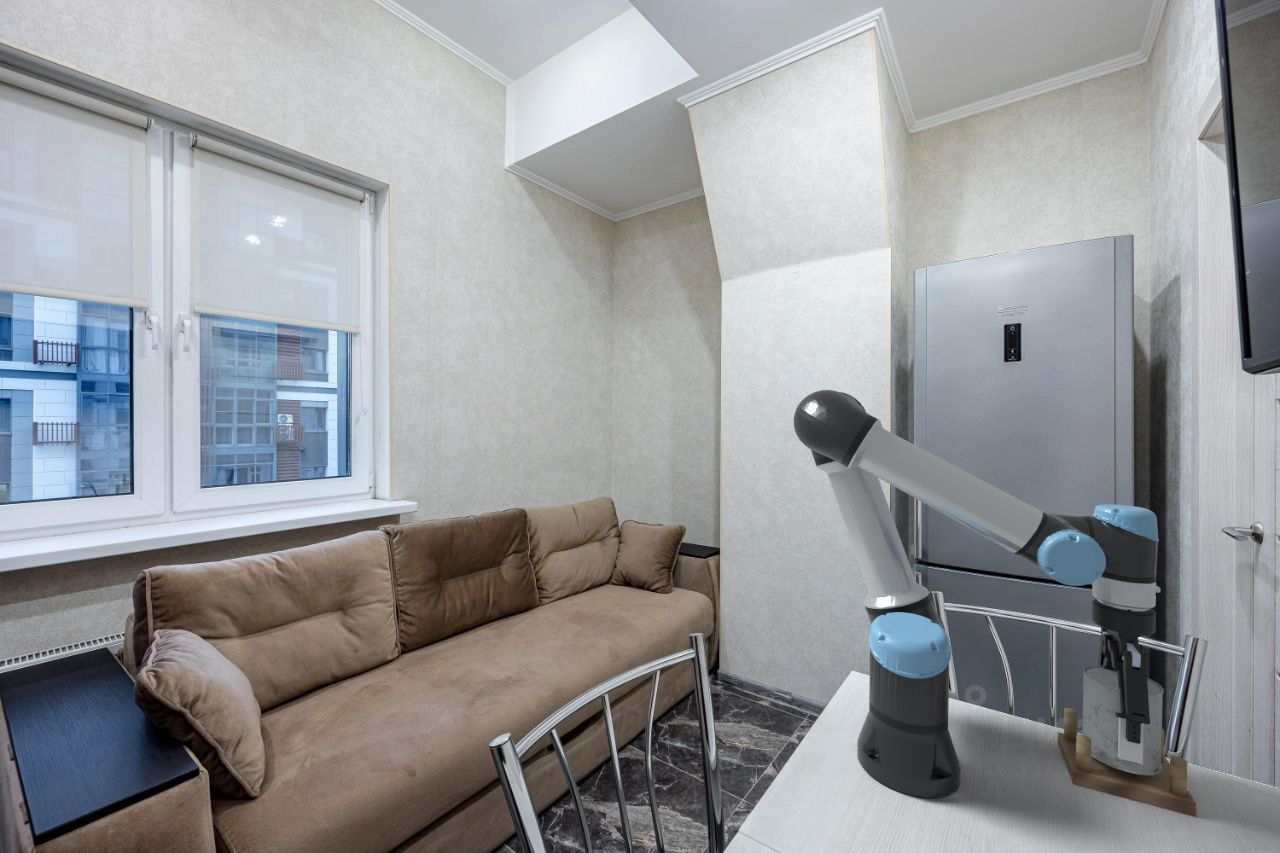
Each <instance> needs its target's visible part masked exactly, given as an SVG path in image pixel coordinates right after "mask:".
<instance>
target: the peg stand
mask: <svg viewBox="0 0 1280 853" xmlns="http://www.w3.org/2000/svg"><path fill="white" fill-rule="evenodd" d="M1063 714H1064V715H1063V719H1064V720H1063V732H1060V731H1059V732H1057V746H1058V748H1059V751H1060V754H1061V756H1062V758H1063V761H1064V762H1063V763H1064V764H1065V767H1066V769H1067V771H1068V774H1069V777H1070V780H1071V783H1072V784H1073V785H1075V786H1078V787H1082V788H1085V789H1089V790H1094V791H1098V792H1100V793H1105V794H1108V795H1112V796H1117V797H1120V798H1124V799H1128V800H1131V801H1135V802H1138V803H1143V804H1146V805H1150V806H1154V807H1157V808H1161V809H1165V810H1168V811H1172V812H1176V813H1180V814H1183V815H1187V816H1191V817H1195V818H1197V802H1196V801H1195V799H1194V797H1193V795H1191V793H1190V791H1189V790H1188V761H1187V760H1186V759H1184V758H1182V757H1180V756H1176V755H1171V756H1169V761H1168V759H1167V758H1166V757H1165V733H1166V732H1165V729H1163V728H1162V739H1161V766H1162V771H1161V772H1160V773H1159V774H1156V775H1139V774H1133V773H1129V772H1125V771H1122V770H1119V769H1116V768H1113V767H1111V766H1109V765H1106V764H1104V763H1102V762H1100V761H1099V760H1097V759H1095V758H1094V757H1092V756H1091V739H1090V738H1089V737H1087V736H1085V735H1082V734H1079V733H1078V724H1079V723H1078V722H1079V719H1078V718H1079V717H1078V716H1079V712H1078V711H1077V709H1074V708H1070V707H1064V712H1063Z"/></svg>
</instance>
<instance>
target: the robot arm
mask: <svg viewBox="0 0 1280 853" xmlns="http://www.w3.org/2000/svg"><path fill="white" fill-rule="evenodd" d="M793 428H794V432H795V434H796V436H797V438H798V439H799V441H800V442H801V443H802V444H803V445H804V446H805V447H807V449H810V451H811V455H812V457H813V460H814V462H815V466H816V468H817V469H819V470H821V471H824V472H825V473H826V474H827V476H828V479H829V482H830V485H831V487H832V490H833V493H834V494H833V495H834V496H835V499H836V502H837V505H838V508H839V511H840V513H841V517H842V520H843V521H844V525H845V528H846V531H847V533H848V534H847V535H848V536H849V540H850V542H851V546H852V548H853V551H854V554H855V556H856V559H857V562H858V565H859V568H860V571H861V573H862V576H863V579H864V582H865V585H866V589H867V590H868V593H867V595H866V597H865V599H864V600H863V604H864V607H865V610H866V611H865V612H866V613H867V616H868V618H869V622H870V625H871V626H870V631H869V634H868V645H869V684H868V685H869V692H868V693H869V697H868V698H869V700H868V702H869V703H868V705H869V706H868V711H867V715H866V717H865V720H864V723H863V725H862V728H861V730H860V732H859V735H858V738H857V744H856V745H857V748H856V751H857V752H856V754H857V755H856V756H857V760H858V762H859V764H860V766H861V767H862V769H864V771H865V772H866V773H867V774H868V775H870V776H871V777H872V778H873V779H875V780H876V781H878V782H879V783H881V784H883V785H884V786H887V787H888V788H890V789H892V790H894V791H898V792H900V793H903V794H906V795H910V796H914V797H920V798H928V799H930V798H931V799H933V798H943V797H948V796H951V795H952V794H954V793H956V792H957V790H959V788H960V785H961V764H960V760H959V757H958V754H957V752H956V748H955V746H954V745H955V744H954V742H953V739H952V736H951V734H950V730H949V705H950V704H949V700H950V699H949V698H950V695H949V694H950V692H949V691H950V689H949V688H950V685H949V684H950V661H951V657H952V650H951V645H950V640H949V636H948V634H947V632H946V627H945V624H944V622H943V621H944V620H943V619H942V618H941V616H940V615H939V612H937V611H936V608H935V605H934V603H933V599H932V597H931V594H930V591H929V590H928V588H927V587H925V586H924V585H921V584H919V583H918V582H917V580H916V579H915V576H914V573H913V570H912V568H911V567H912V566H911V565H910V562H909V560H908V556H907V554H906V551H905V548H904V545H903V543H902V542H903V541H902V540H901V537H900V534H899V531H898V529H897V526H896V523H895V521H894V518H893V515H892V512H891V510H890V507H889V504H888V501H887V499H886V496H885V492H884V490H883V488H882V485H881V482H880V480H881V481H883V482H885V483H887V484H889V485H891V486H893V487H895V488H896V489H898V490H900V491H902V492H904V493H905V494H907V495H909V496H911V497H913V499H914V498H915V499H916V500H917V501H920V502H921V503H923V504H925V505H927V506H928V507H931V508H932V509H934V510H935V511H937V512H940V514H943V515H945V516H947V517H949V518H950V519H952V520H954V521H955V522H958V523H959V524H961V525H963V526H965V527H966V528H968V529H970V530H972V531H974V533H975V532H976V533H977V534H978V535H981V536H983V537H984V538H986V539H988V540H989V541H992V542H993V543H995V544H997V545H999V546H1001V547H1002V548H1004V549H1006V551H1007V552H1008V553H1009V554H1010V555H1013V556H1018V557H1019V558H1021V559H1023V560H1025V561H1026V562H1029V563H1030V564H1032V565H1034V566H1035V567H1038V568H1039V569H1040V570H1041V571H1042V572H1043V573H1044V574H1045V575H1046V576H1047V577H1049V578H1050V579H1053V580H1054V581H1056V582H1058V583H1061V584H1063V585H1067V586H1073V587H1074V586H1075V587H1079V586H1087V585H1089V584H1092V587H1091V588H1092V590H1091V593H1092V596H1093V598H1094V599H1093V600H1092V601H1091V602H1092V604H1091V606H1092V607H1091V609H1092V611H1091V619H1092V622H1093V623H1094V624H1096V625H1097V626H1098V627H1100V642H1099V650H1098V651H1099V652H1098V662H1097V666H1104V668H1105V669H1109V670H1114V671H1117V677H1118V686H1119V690H1120V703H1121V713H1118V712H1117V713H1115V714H1116V717H1119V726H1118V757H1119V759H1123V760H1127V761H1131V762H1136V763H1140V764H1143V737H1144V724H1148V725H1149V724H1150V716H1149V699H1148V682H1147V678H1148V660H1149V657H1148V656H1147V653H1144V650H1143V645H1142V644H1139V643H1140V642H1139V638H1140V637H1142V636H1145V637H1147V636H1152V635H1154V634H1155V633H1156V625H1157V622H1156V621H1157V620H1156V619H1157V613H1156V611H1155V610H1154V609H1153V608H1155V607H1156V602H1157V600H1156V598H1157V596H1156V593H1161V587H1160V586H1157V566H1158V563H1157V562H1158V549H1159V548H1158V546H1159V541H1160V538H1159V532H1158V531H1159V530H1158V529H1159V528H1158V520H1157V519H1158V518H1157V516H1156V513H1154V512H1153V511H1152V510H1150V509H1149V508H1144V507H1140V506H1133V505H1126V504H1125V505H1123V504H1098V505H1096V506H1095V507H1094V512H1093V513H1092V515H1086V516H1085V515H1084V516H1083V515H1082V516H1081V515H1080V516H1079V515H1071V514H1070V515H1068V514H1056V513H1046V512H1043V511H1042V510H1040V509H1038V508H1036V507H1034V506H1033V505H1030V504H1029V503H1027V502H1025V501H1023V500H1021V499H1019V498H1017V497H1016V496H1013V495H1011V494H1010V493H1007V492H1006V491H1003V490H1002V489H1000V488H998V487H996V486H994V485H993V484H990V483H988V482H986V481H984V480H983V479H981V478H979V477H977V476H975V475H973V474H971V473H969V472H968V471H966V470H964V469H962V468H961V467H960V468H959V466H955V465H954V464H952V463H950V462H948V461H946V460H944V459H943V458H941V457H939V456H936V455H934V454H933V453H931V452H929V451H927V450H925V449H923V448H921V447H919V446H917V445H916V444H913V443H911V442H910V441H908V440H906V439H904V438H902V437H900V436H899V435H896V434H895V433H892V432H890V431H888V430H887V429H885V428H883V425H882V422H881V420H880V419H878V417H877V418H876V417H875V416H873V415H871V414H870V413H868V412H867V410H866V409H865V407H864V406H863V405H862V402H860V401H859V400H858V399H857V398H856V397H854V396H853V395H851V394H848V393H846V392H843V391H838V390H832V389H821V390H817V391H814V392H812V393H809V394H808V395H807V396H805V397H804V398H803V399H802V400H801V401H800V402H799V404H798V405H797V407H796V408H795V412H794V415H793Z"/></svg>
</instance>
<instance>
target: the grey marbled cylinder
mask: <svg viewBox="0 0 1280 853" xmlns="http://www.w3.org/2000/svg"><path fill="white" fill-rule="evenodd" d="M1082 673H1083V687H1082V689H1083V690H1082V692H1083V694H1082V695H1083V697H1082V698H1083V701H1082V734H1081V735H1085V736H1087V737H1089V738H1090V739H1091V756H1092V757H1094V758H1095V759H1097V760H1099V761H1100V762H1102V763H1104V764H1106V765H1109V766H1111V767H1113V768H1116V769H1119V770H1122V771H1125V772H1129V773H1133V774H1139V775H1156V774H1159V773H1160V772H1161V771H1162V766H1161V739H1162V729H1163V697H1164V696H1163V695H1164V692H1165V691H1164V690H1165V689H1164V688H1163V686H1162V685H1161V684H1160V683H1158V682H1156V681H1154V680H1153V679H1151V678H1149V677H1147V682H1148V699H1149V716H1150V724H1149V725H1148V724H1144V737H1143V764H1140V763H1136V762H1131V761H1127V760H1123V759H1119V757H1118V726H1119V717H1116V714H1115V713H1117V712H1118V713H1121V703H1120V690H1119V686H1118V677H1117V671H1114V670H1109V669H1105V668H1104V666H1098V665H1089V666H1085V667H1084V668H1083V670H1082Z"/></svg>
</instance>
